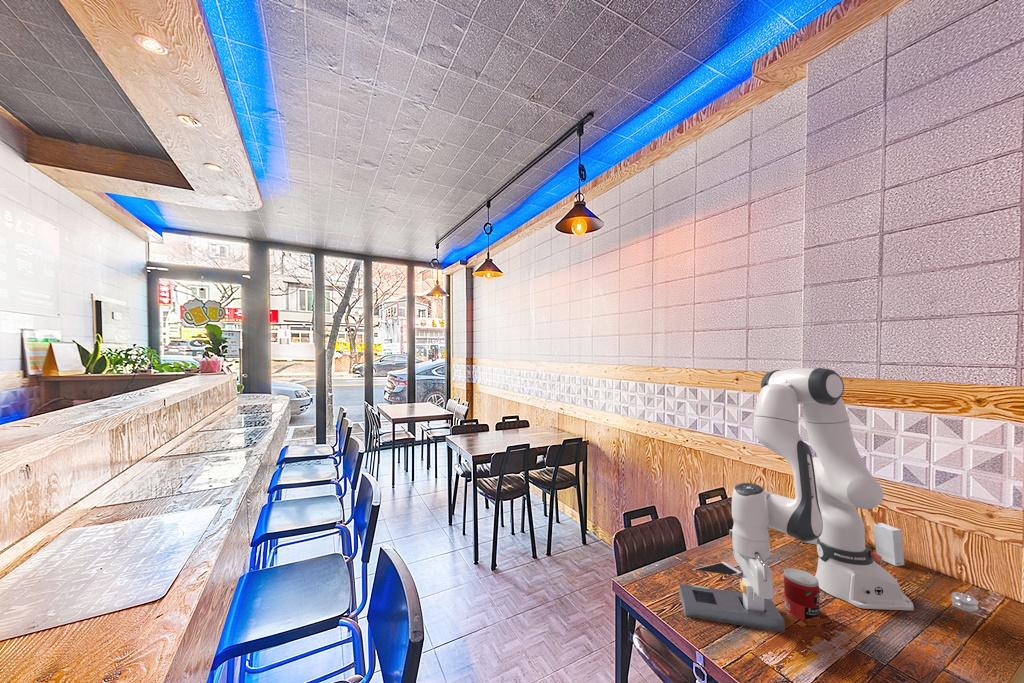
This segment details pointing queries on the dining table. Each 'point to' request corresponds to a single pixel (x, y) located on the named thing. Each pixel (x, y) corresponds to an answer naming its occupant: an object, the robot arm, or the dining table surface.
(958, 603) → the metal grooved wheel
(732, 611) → the panel
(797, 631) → the dining table surface
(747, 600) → the plug
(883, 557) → the skincare box
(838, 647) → the dining table surface
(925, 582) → the dining table surface
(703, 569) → the smartphone
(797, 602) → the canned food
